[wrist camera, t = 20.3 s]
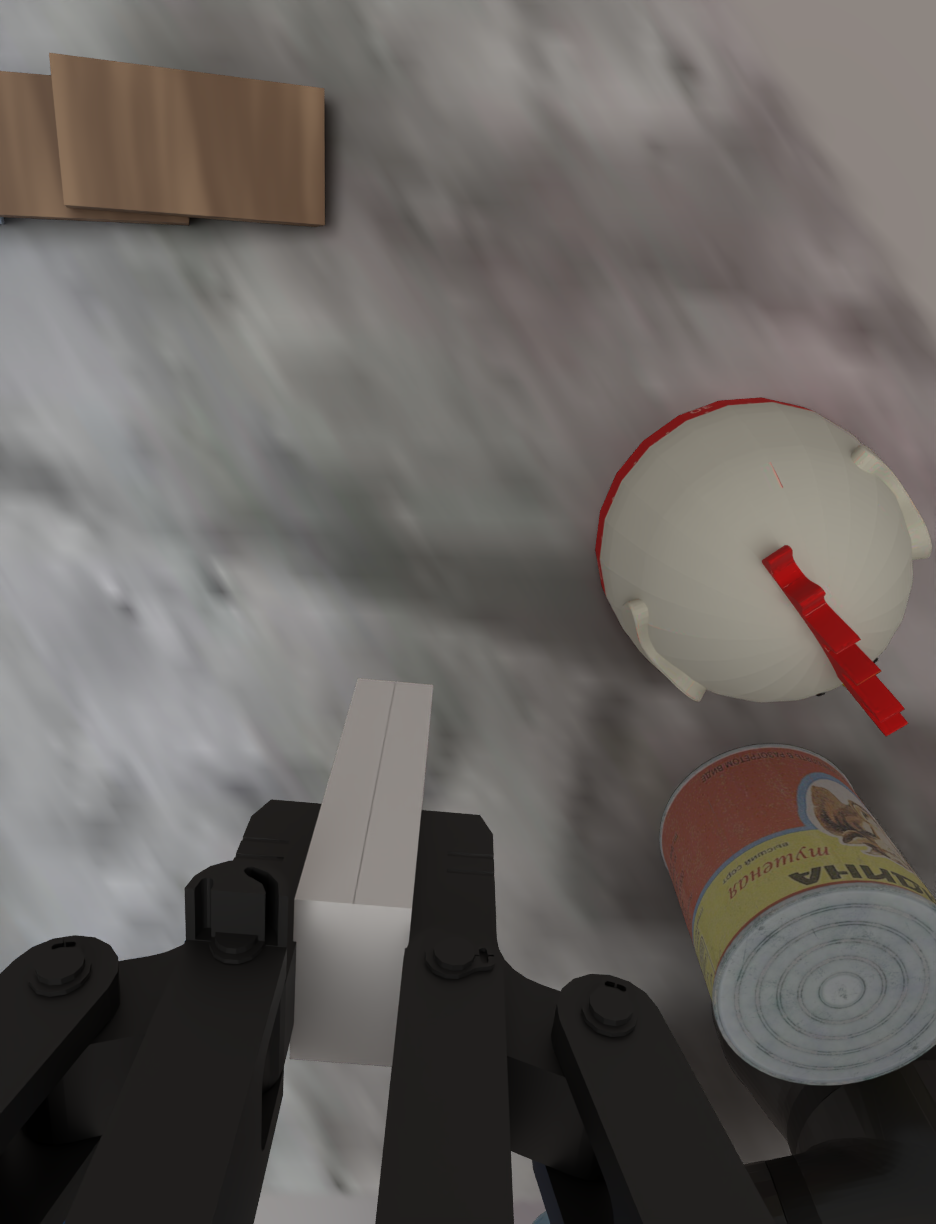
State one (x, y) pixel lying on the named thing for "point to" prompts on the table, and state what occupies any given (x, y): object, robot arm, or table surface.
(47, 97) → the domino
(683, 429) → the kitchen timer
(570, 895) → the table surface
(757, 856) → the canned food
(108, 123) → the domino
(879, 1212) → the robot arm
